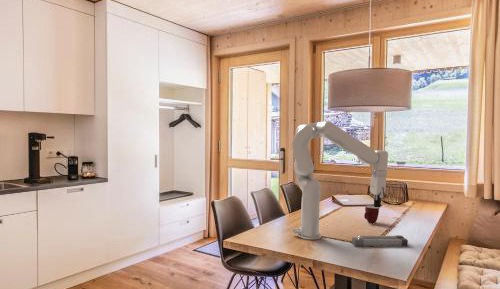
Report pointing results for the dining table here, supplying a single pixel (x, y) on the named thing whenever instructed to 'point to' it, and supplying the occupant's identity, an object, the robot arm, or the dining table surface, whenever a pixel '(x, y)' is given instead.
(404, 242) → the base
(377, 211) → the mug
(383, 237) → the tongs leg
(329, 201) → the dining table surface
